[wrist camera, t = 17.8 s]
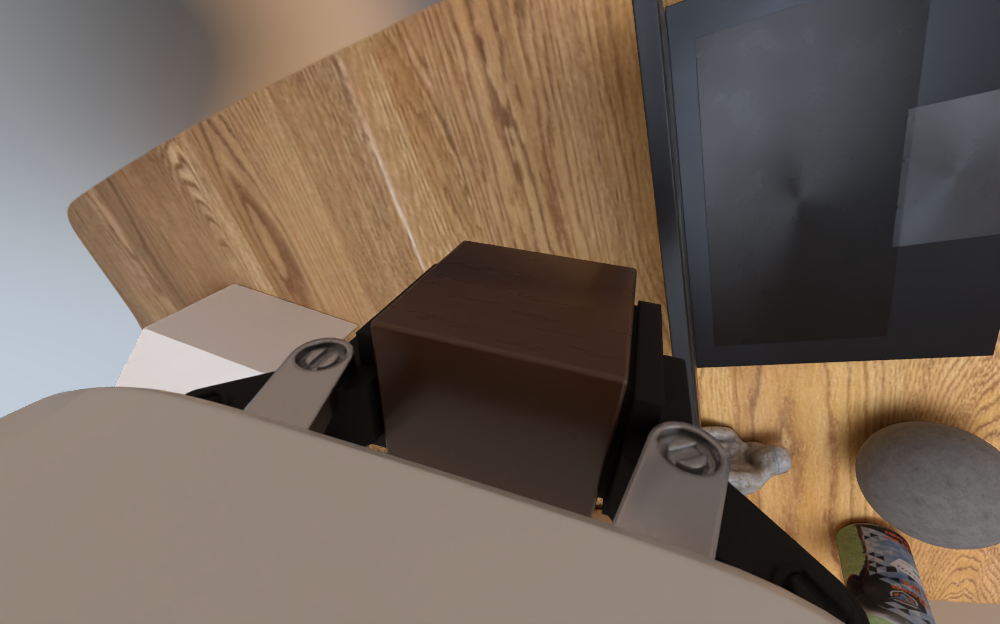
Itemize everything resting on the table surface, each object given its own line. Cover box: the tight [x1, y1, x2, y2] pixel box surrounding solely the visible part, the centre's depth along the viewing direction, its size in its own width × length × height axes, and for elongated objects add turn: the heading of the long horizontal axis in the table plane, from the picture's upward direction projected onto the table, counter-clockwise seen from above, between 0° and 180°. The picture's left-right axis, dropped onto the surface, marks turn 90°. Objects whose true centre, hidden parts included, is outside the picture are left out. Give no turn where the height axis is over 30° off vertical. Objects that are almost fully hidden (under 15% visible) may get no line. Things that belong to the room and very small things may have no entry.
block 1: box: [114, 284, 358, 395], centre depth 56 cm, size 18×35×12 cm, turn 107°
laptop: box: [665, 0, 1000, 368], centre depth 31 cm, size 21×30×2 cm
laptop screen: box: [632, 0, 701, 428], centre depth 26 cm, size 21×30×1 cm
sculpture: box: [701, 426, 791, 495], centre depth 44 cm, size 11×18×12 cm
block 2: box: [371, 241, 637, 518], centre depth 10 cm, size 5×5×5 cm
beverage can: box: [836, 523, 935, 624], centre depth 41 cm, size 6×7×12 cm
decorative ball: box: [856, 421, 1000, 549], centre depth 35 cm, size 10×10×10 cm
